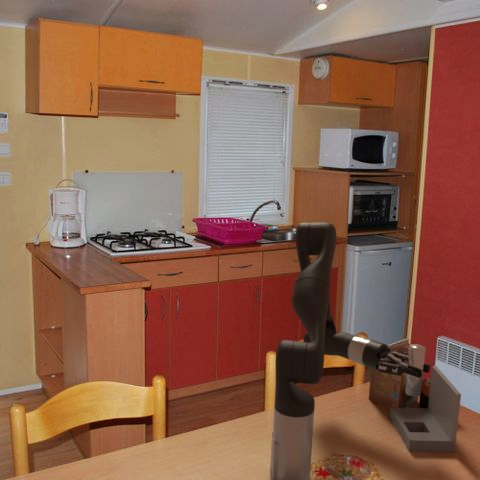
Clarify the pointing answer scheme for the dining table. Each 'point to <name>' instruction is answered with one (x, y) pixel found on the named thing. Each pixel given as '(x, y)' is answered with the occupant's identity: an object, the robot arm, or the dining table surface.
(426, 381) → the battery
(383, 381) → the milk carton
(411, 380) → the rod
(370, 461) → the dining table surface
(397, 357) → the robot arm
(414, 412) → the grey l-shaped stand
